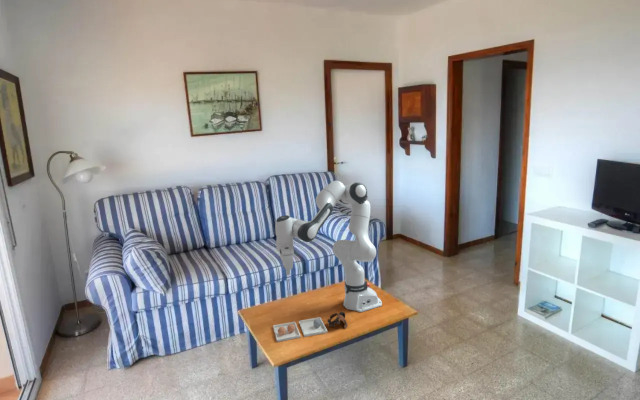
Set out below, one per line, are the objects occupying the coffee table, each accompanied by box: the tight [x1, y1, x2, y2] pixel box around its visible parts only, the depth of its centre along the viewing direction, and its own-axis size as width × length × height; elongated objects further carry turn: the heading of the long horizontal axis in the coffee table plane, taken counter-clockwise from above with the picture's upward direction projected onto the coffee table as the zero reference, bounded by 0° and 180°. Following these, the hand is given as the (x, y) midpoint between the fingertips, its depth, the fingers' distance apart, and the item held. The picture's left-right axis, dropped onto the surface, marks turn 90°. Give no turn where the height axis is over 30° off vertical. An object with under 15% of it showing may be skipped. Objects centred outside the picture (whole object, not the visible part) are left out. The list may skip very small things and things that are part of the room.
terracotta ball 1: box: [278, 327, 286, 335], centre depth 198 cm, size 4×4×4 cm
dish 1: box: [272, 321, 302, 343], centre depth 200 cm, size 12×14×2 cm
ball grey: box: [313, 319, 321, 327], centre depth 203 cm, size 4×4×4 cm
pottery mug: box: [327, 311, 348, 330], centre depth 205 cm, size 12×10×8 cm
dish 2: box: [298, 316, 328, 338], centre depth 203 cm, size 12×14×2 cm
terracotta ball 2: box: [287, 324, 295, 332], centre depth 200 cm, size 4×4×4 cm
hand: (286, 271), depth 206 cm, fingers open, 8 cm apart
